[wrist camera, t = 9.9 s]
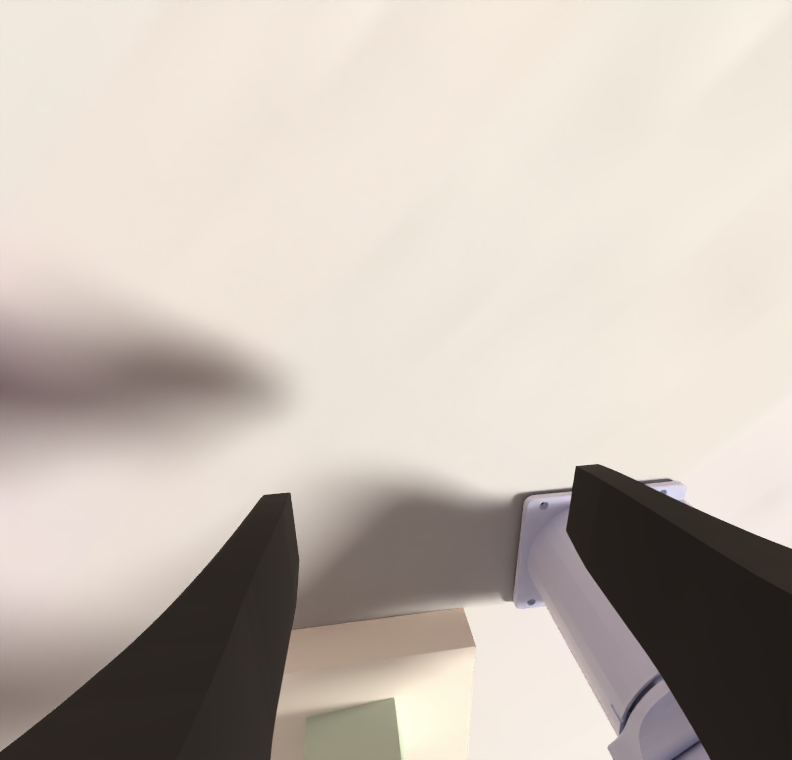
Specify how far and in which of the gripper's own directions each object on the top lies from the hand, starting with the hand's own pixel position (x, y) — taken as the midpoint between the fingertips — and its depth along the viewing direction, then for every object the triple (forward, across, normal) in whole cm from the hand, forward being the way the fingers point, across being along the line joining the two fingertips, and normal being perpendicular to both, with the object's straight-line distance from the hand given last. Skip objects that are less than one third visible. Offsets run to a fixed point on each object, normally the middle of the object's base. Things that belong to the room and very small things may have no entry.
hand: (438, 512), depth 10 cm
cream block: (+10, +3, +21) cm, 23 cm away
